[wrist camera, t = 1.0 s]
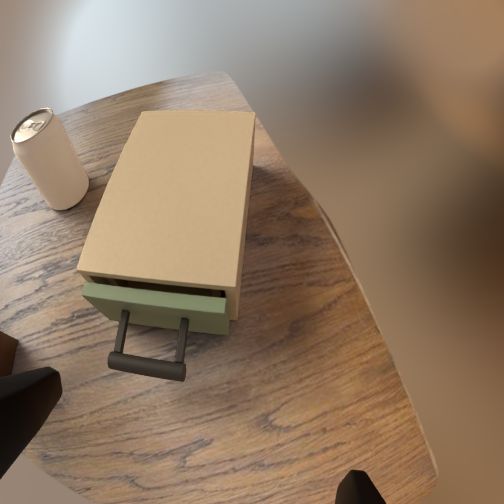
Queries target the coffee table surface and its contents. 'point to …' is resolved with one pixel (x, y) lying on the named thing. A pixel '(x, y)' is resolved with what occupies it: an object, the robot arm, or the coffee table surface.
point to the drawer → (158, 319)
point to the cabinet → (177, 204)
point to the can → (50, 159)
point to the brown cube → (7, 353)
